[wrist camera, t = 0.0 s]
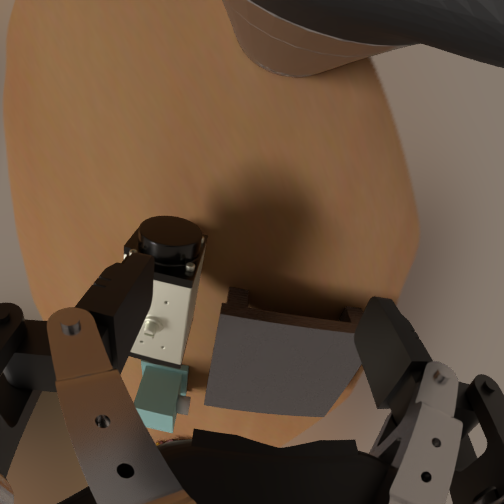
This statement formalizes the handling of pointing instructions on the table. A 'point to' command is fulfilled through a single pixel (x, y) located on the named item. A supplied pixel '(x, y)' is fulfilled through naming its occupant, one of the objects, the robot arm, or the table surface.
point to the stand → (280, 359)
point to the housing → (162, 395)
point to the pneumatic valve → (168, 286)
